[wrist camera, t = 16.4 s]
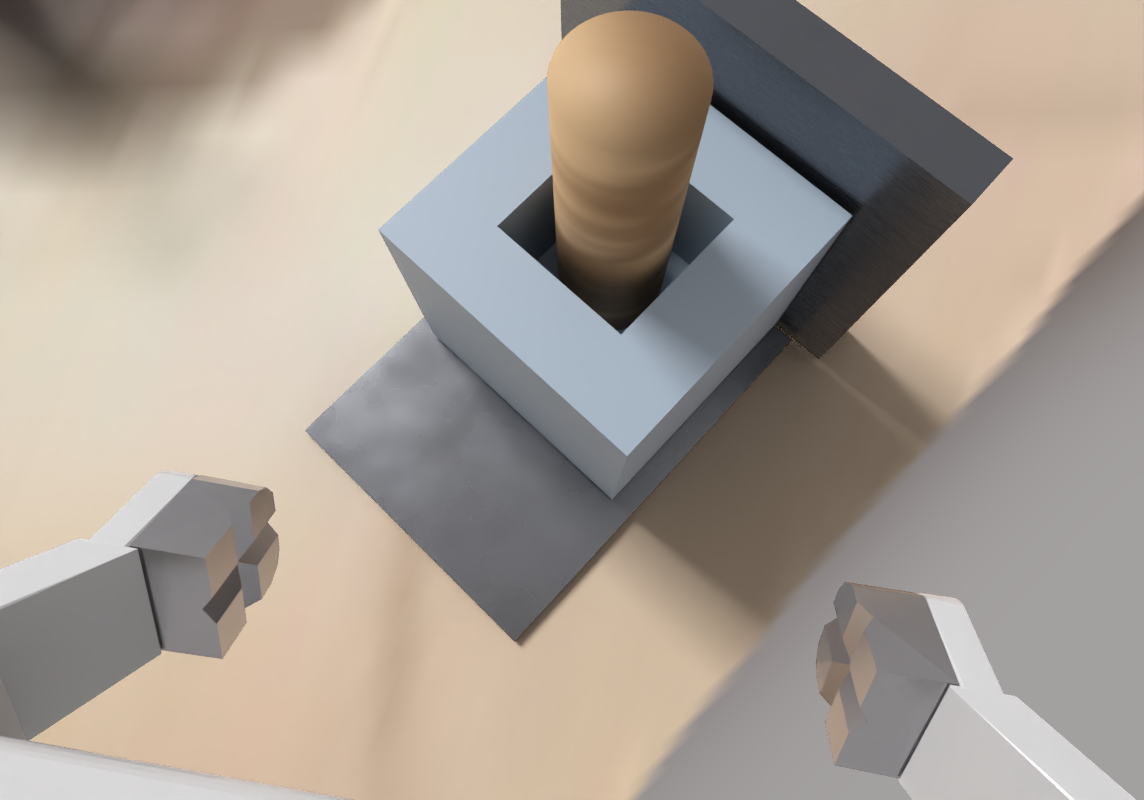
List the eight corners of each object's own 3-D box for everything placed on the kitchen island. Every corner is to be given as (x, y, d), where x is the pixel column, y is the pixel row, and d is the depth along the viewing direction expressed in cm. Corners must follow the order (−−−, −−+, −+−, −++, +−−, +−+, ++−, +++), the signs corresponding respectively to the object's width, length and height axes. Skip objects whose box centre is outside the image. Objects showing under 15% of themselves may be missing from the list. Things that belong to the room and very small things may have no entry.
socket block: (612, 499, 33) (626, 456, 23) (433, 333, 35) (378, 229, 25) (775, 323, 35) (852, 215, 25) (598, 175, 37) (605, 23, 27)
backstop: (541, 666, 32) (514, 713, 18) (285, 409, 35) (97, 284, 21) (846, 328, 35) (1013, 158, 22) (592, 121, 38) (600, -142, 25)
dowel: (574, 341, 29) (571, 171, 18) (547, 249, 30) (528, 31, 19) (674, 315, 30) (735, 130, 18) (644, 225, 31) (684, -6, 19)
